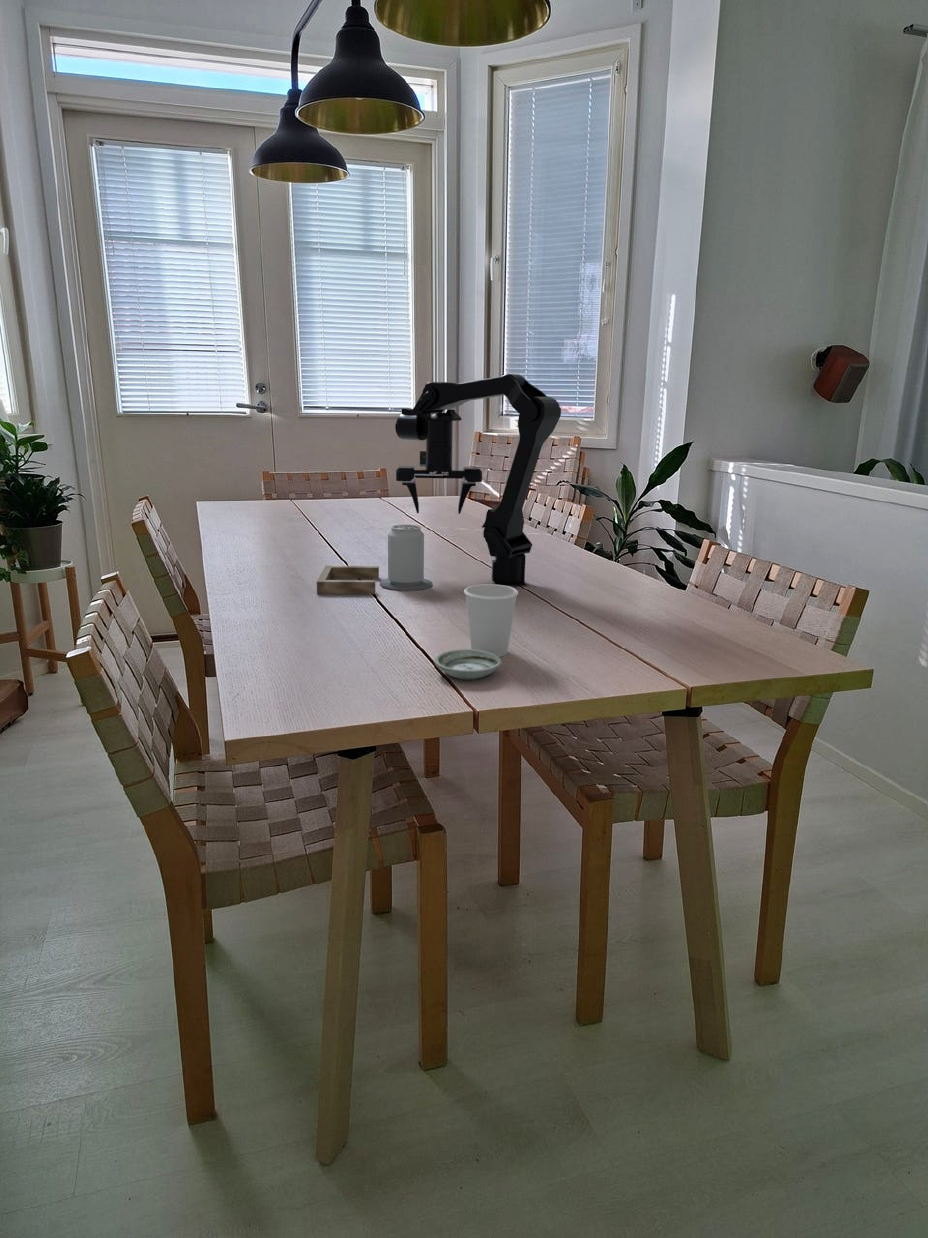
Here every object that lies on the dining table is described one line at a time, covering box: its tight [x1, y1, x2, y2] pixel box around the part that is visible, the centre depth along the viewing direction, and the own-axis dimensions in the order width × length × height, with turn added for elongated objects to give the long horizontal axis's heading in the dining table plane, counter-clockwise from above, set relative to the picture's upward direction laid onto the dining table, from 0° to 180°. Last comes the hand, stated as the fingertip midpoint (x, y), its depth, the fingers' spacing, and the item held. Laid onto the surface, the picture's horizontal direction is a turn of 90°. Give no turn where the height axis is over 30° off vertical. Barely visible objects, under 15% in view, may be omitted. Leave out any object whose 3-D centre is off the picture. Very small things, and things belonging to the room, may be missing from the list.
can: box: [387, 524, 425, 586], centre depth 168 cm, size 8×8×12 cm
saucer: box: [433, 648, 502, 680], centre depth 117 cm, size 10×10×2 cm
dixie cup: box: [463, 583, 519, 658], centre depth 126 cm, size 8×8×10 cm
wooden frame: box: [316, 565, 380, 595], centre depth 168 cm, size 12×15×2 cm
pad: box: [379, 578, 433, 592], centre depth 169 cm, size 11×11×1 cm
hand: (438, 513), depth 180 cm, fingers open, 9 cm apart
